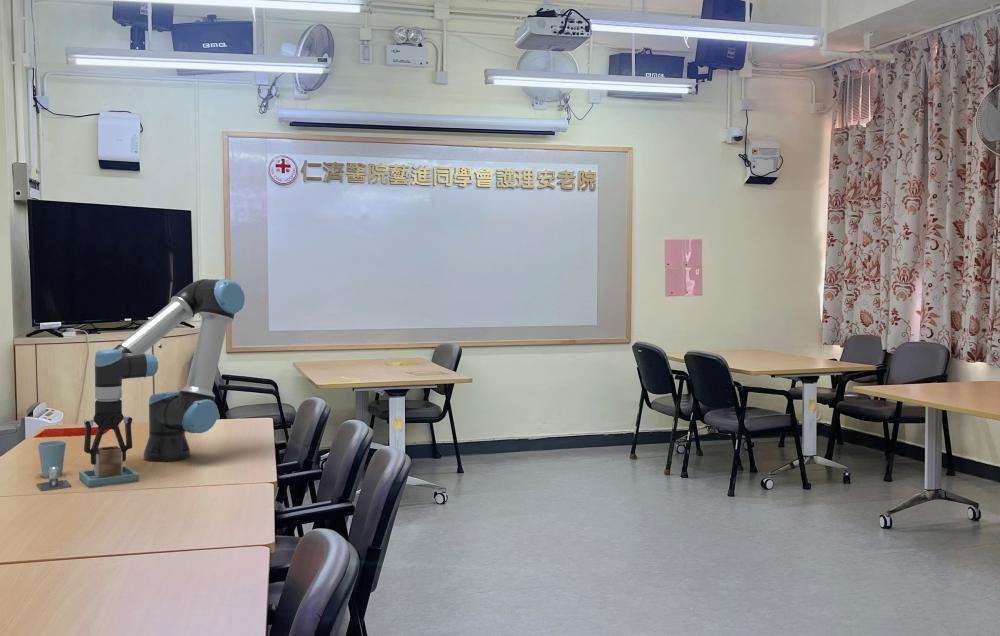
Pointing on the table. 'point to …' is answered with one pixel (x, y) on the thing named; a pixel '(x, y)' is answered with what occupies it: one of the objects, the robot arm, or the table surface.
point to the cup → (51, 456)
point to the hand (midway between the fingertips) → (108, 473)
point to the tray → (108, 478)
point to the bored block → (109, 461)
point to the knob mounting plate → (53, 481)
